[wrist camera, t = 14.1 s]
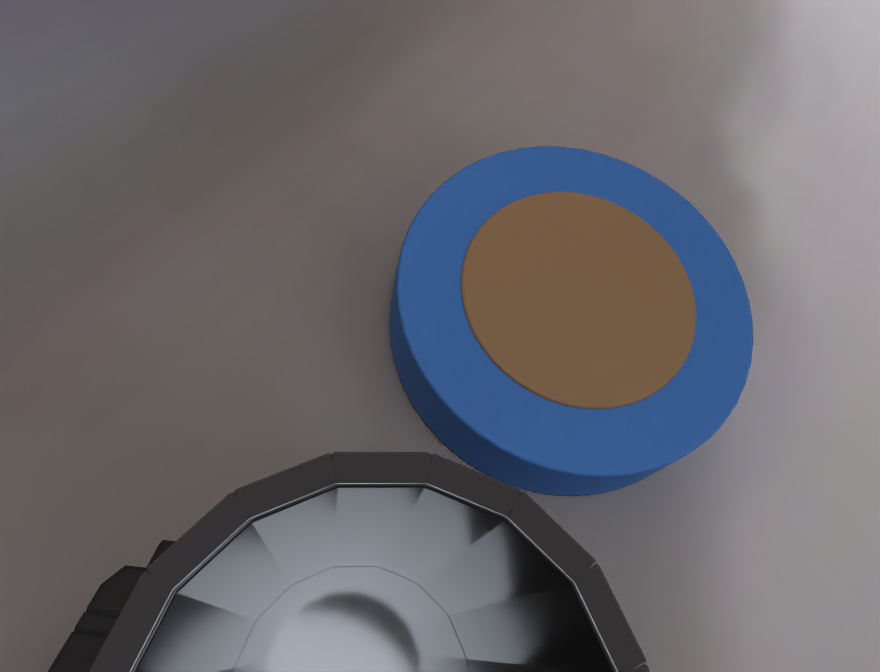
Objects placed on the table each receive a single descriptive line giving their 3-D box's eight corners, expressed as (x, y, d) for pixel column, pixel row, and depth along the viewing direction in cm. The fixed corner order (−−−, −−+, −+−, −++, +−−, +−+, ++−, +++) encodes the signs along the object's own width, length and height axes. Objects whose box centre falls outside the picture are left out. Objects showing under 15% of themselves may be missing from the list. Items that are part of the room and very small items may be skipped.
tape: (610, 162, 24) (640, 110, 22) (771, 419, 21) (826, 390, 19) (339, 244, 21) (340, 193, 19) (477, 556, 18) (499, 542, 16)
